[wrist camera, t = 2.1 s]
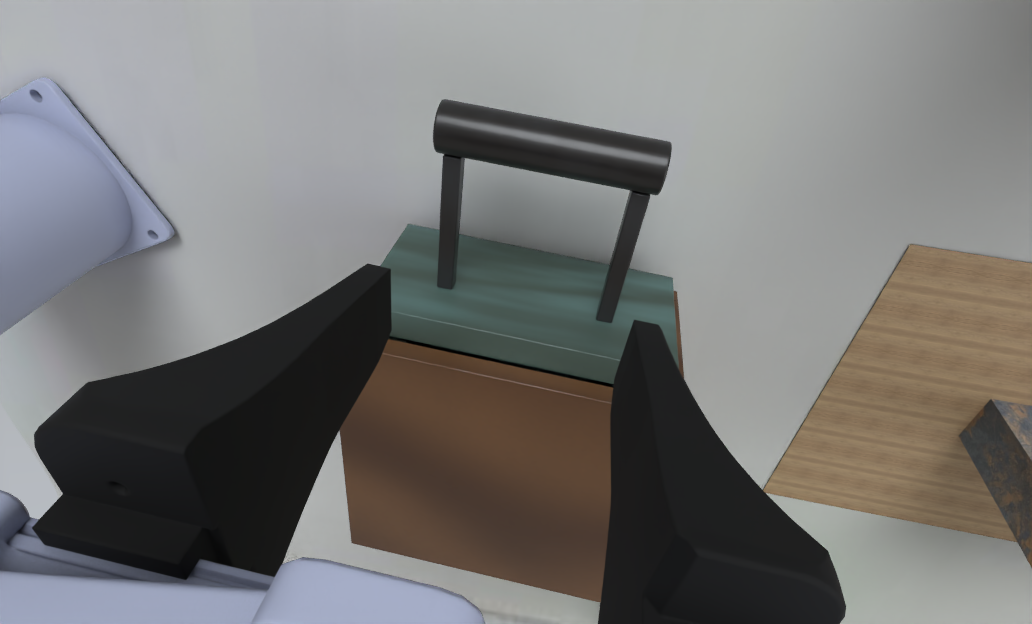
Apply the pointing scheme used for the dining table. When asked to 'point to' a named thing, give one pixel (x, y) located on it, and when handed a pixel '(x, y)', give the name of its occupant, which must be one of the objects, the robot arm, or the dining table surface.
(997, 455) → the architectural model on board
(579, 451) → the cabinet
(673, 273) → the dining table surface
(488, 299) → the green drawer
